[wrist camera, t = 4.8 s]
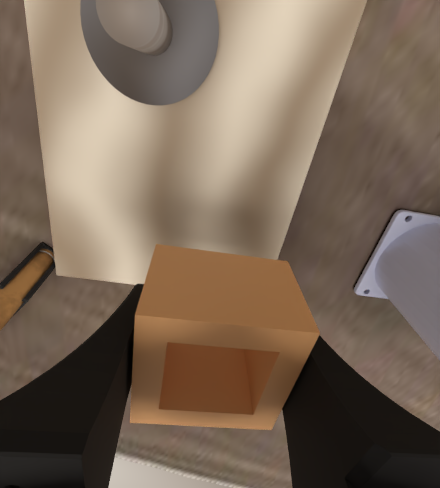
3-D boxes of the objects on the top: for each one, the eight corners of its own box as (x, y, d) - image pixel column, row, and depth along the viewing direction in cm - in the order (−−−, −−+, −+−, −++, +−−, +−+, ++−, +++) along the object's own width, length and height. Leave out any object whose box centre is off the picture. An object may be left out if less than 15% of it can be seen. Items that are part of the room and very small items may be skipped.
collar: (287, 261, 12) (320, 333, 9) (256, 349, 15) (271, 430, 12) (156, 244, 12) (134, 314, 8) (148, 339, 14) (130, 422, 11)
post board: (376, -65, 14) (510, -178, 8) (260, 288, 24) (278, 357, 18) (22, -175, 12) (-176, -447, 6) (65, 263, 22) (12, 332, 16)
